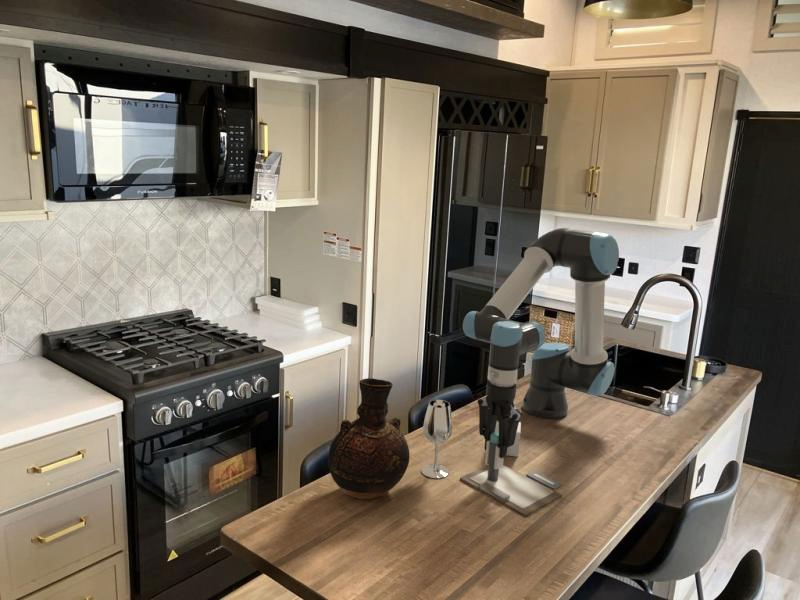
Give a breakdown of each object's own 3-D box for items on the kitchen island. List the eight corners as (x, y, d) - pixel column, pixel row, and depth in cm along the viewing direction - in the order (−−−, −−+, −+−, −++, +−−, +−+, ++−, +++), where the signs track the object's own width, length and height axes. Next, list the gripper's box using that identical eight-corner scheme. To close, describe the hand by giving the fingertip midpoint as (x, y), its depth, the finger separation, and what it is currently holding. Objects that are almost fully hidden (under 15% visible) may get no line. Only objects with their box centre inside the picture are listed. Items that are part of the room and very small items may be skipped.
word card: (534, 471, 179) (534, 470, 179) (561, 485, 172) (561, 483, 172) (526, 475, 176) (526, 474, 176) (553, 489, 170) (553, 488, 170)
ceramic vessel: (336, 517, 153) (339, 399, 146) (319, 480, 169) (321, 372, 162) (418, 503, 161) (425, 391, 153) (395, 469, 176) (400, 366, 169)
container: (518, 457, 186) (522, 415, 183) (491, 453, 188) (494, 412, 185) (518, 445, 194) (522, 405, 191) (492, 442, 195) (496, 402, 192)
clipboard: (496, 463, 182) (497, 458, 182) (561, 497, 167) (562, 491, 166) (459, 479, 173) (460, 474, 172) (525, 517, 157) (526, 511, 156)
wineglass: (434, 461, 182) (438, 395, 177) (455, 472, 176) (460, 404, 171) (414, 470, 176) (418, 402, 171) (435, 482, 171) (440, 412, 166)
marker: (491, 475, 174) (495, 430, 171) (500, 479, 172) (504, 434, 169) (484, 478, 172) (488, 433, 169) (493, 483, 170) (497, 438, 167)
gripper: (469, 375, 169) (462, 457, 174) (516, 394, 158) (507, 481, 163) (488, 370, 174) (481, 450, 179) (535, 388, 162) (526, 472, 168)
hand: (493, 464), depth 171 cm, fingers closed on marker, 2 cm apart
